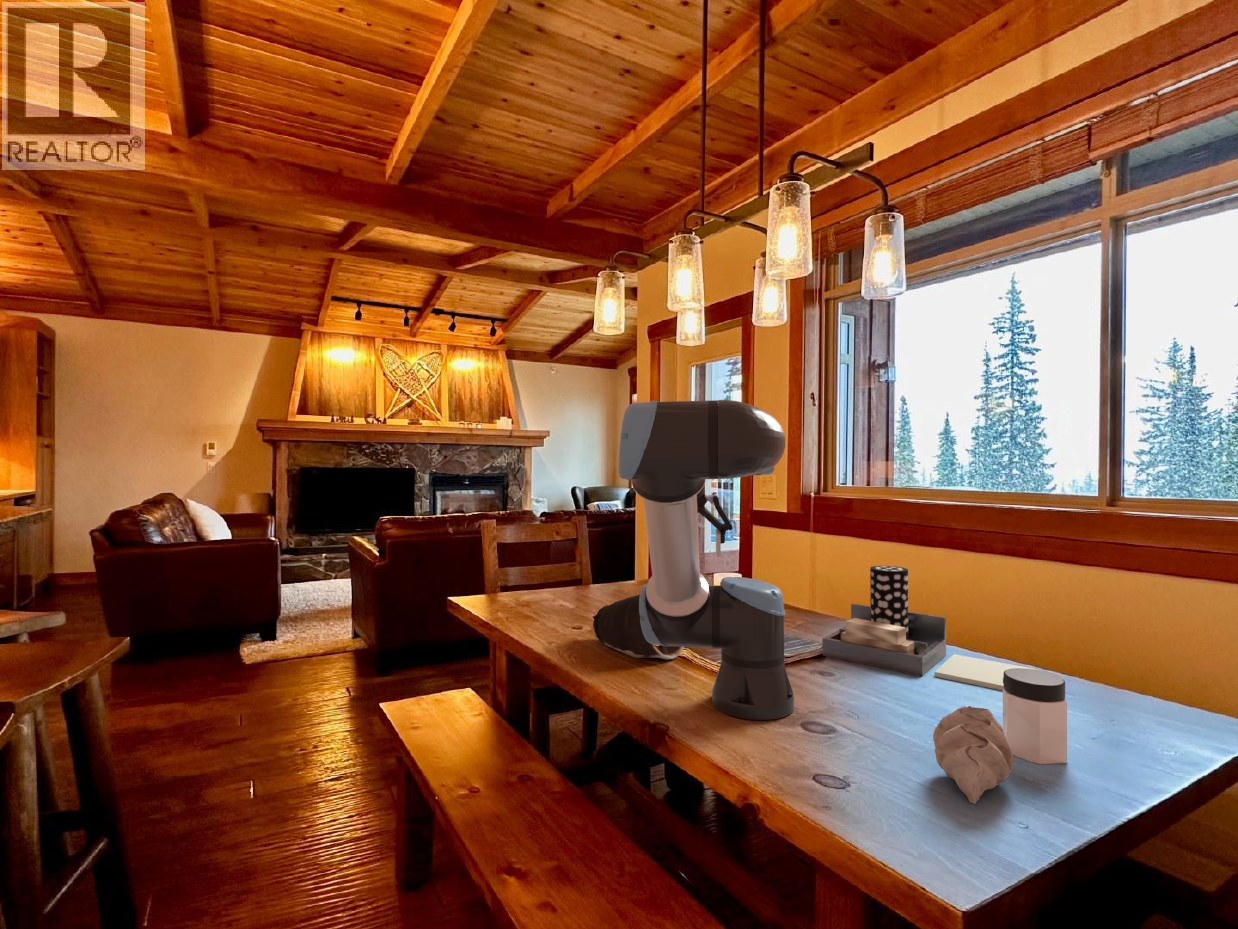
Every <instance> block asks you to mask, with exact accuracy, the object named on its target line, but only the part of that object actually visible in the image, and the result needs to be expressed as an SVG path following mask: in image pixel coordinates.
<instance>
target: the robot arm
mask: <svg viewBox="0 0 1238 929" xmlns="http://www.w3.org/2000/svg"><path fill="white" fill-rule="evenodd" d="M620 431H621V432H620V439H619V451H618V475H619V477H620V478H621V479H622V480H626V481H631V484H632V488H633V491H634V492H635V493H636V494H637V495H638V496H639V497H640V498H642V499H643V505H644V516H645V523H646V533H647V541H648V550H649V559H650V568H651V576H650V578H649V579H648V581H647V583H644V584H643V585H642V587H641V589H640V592H639V594H640V598H639V614H640V624H641V629H642V632H643V635H644V637H645V639H646V640H647V641H648V642H649V643H650V644H653V645H654V646H659V645H662V646H664V647H669V646H676V647H684V648H710V649H721V650H720V651H721V658H720V660H721V661H720V665H719V668H718V671H717V674H716V677H715V681H714V684H713V687H712V690H711V698H712V699H711V701H712V705H713V707H714V708H715V709H717V711H720V712H722V713H723V714H725V715H728V716H731V717H734V718H739V719H744V720H754V721H769V720H778V719H781V718H785V717H787V716H788V715H791V714H792V713H793V712H794V710H795V695H794V691H793V688H792V685H791V682H790V679H789V675H788V673H787V670H786V667H785V620H784V619H785V616H786V611H785V603H784V602H785V601H784V593H783V592H782V590H781V589H780V588H779V587H778V586H776V585H774V584H772V583H770V582H766V581H764V580H759V579H755V578H754V579H753V578H749V577H743V576H742V577H740V576H726V577H722V579H721V581H720V583H719V584H720V585H718V584H717V585H714V584H713V585H712V584H709V583H708V581H707V579H706V578H705V577H704V575H703V574H702V573H701V568H700V546H699V545H700V544H699V541H700V540H699V520H698V518H699V516H698V514H700V515H701V516H702V517H704V518H705V519H706V521H708V522H709V523H710V524H711V525H712V526H714V527H715V553H716V557H717V558H721V557H722V556H721V553H722V552H721V544H725V542H726V533H727V532H726V531H732V530H733V528H734V527H733V525H732V522H731V520H730V518H729V517H728V515H727V513H726V512H725V510H724V508H723V507H722V505H721V502H720V500H719V496H718V493H717V492H715V491H714V492H712V493H711V494H707V495H706V489H705V488H706V487H705V486H706V480H725V479H726V480H727V479H729V480H731V479H738V478H744V477H749V476H763V475H764V476H765V475H766V476H767V475H771V474H773V473H774V472H775V466H776V465H777V464H778V463H779V462H780V460H781V459H782V457H783V456H784V454H785V450H786V444H787V443H786V436H785V432H784V429H783V427H782V425H781V423H780V422H779V421H778V420H777V419H776V418H775V417H774V416H773V415H771V413H769V412H767V411H765V410H763V409H761V408H760V407H757V406H755V405H753V404H749V403H746V402H742V401H738V400H731V399H716V400H709V399H708V400H682V401H681V400H677V401H675V400H671V401H657V400H656V399H653V400H651V401H642V402H633V403H631V404H629V405H628V406H627V407H626V409H625V410H624V413H623V418H622V422H621V430H620ZM708 502H709V503H710V504H711V505H714V508H715V510H716V511H717V514H718V515H719V517H720V518H721V520H722V521H723V523H722V522H721V521H720V520H719V519H718V518H717V517H716V516H715V515H714V514H713V513H712V512H711V511H709V509H708V508H707V506H705V505H707V503H708Z"/></svg>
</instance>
